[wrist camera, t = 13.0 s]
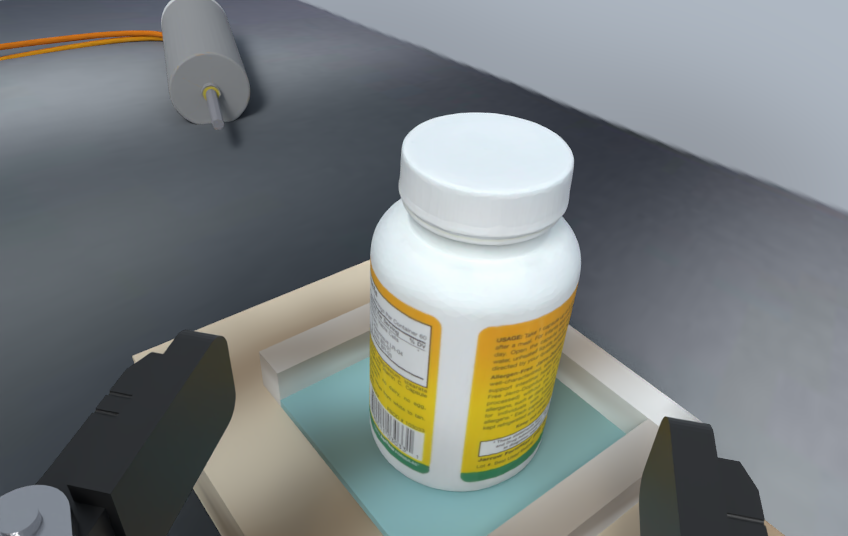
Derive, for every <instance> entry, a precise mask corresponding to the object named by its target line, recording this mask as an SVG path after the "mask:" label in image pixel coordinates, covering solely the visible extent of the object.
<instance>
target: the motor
mask: <svg viewBox="0 0 848 536" xmlns="http://www.w3.org/2000/svg"><path fill="white" fill-rule="evenodd" d="M161 26H162V32H158V31H111V32H98V33H87V34H78V35H68V36H59V37H50V38H42V39H34V40H27V41H19V42H11V43H4V44H0V50H5V49H12V48H19V47H27V46H35V45H43V44H52V43H60V42H69V41H77V40H85V39H94V38H105V37H119V38H111V39H103V40H96V41H89V42H83V43H76V44H70V45H64V46H58V47H52V48H46V49H41V50H35V51H30V52H24V53H19V54H14V55H8V56H3V57H0V60H6V59H12V58H18V57H24V56H30V55H36V54H42V53H49V52H55V51H61V50H68V49H75V48H82V47H89V46H96V45H105V44H113V43H123V42H135V41H163V44H164V53H165V61H166V70H167V79H168V87H169V95H170V98H171V102H172V103H173V105H174V107H175V109H176V110H177V111H178V112H179V114H180V115H181V116H183V117H184V118H185V119H187V120H188V121H190V122H192V123H194V124H208V123H212V126H213V127H214V129H217V130H220V129H222V128H223V126H224V122H228V121H234V120H236V119H237V118H238V117H239V116H240V115H241V114H242V113H243V112H244V110H245V109H246V107H247V105H248V103H249V99H250V83H249V80H248V77H247V74H246V71H245V68H244V65H243V62H242V59H241V57H240V54H239V51H238V48H237V45H236V42H235V39H234V36H233V34H232V31H231V28H230V25H229V22H228V19H227V16H226V14H225V12H224V10H223V9H222V7H221V6H220V5H219V4H218V3H217V2H216V1H214V0H171V1H170V2H169V3H168V4H167V6H166V7H165V9H164V11H163V14H162V19H161ZM122 36H130V37H122Z"/></svg>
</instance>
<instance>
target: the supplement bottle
mask: <svg viewBox="0 0 848 536" xmlns="http://www.w3.org/2000/svg"><path fill="white" fill-rule="evenodd" d="M573 168H574V157H573V154H572V151H571V149H570V148H569V146H568V145H567V144H566V142H565V141H564V140H563V139H562V138H560V137H559V136H558V135H557V134H556V133H554V132H552V131H551V130H549V129H547V128H545V127H543V126H541V125H539V124H537V123H534V122H531V121H527V120H524V119H520V118H517V117H512V116H508V115H502V114H495V113H459V114H452V115H445V116H442V117H437V118H433V119H431V120H428V121H426V122H424V123H421V124H420V125H418V126H417V127H415V128H414V129H413V130H412V131H410V132H409V133H408V135H407V136H406V137H405V139H404V141H403V145H402V151H401V170H400V179H399V192H400V196H401V199H400V200H399V201H397V202H396V203H395V204H393V205H392V206H391V207H390V208H389V209H388V210H387V211H386V213H385V214H384V215H383V216H382V218H381V220H380V221H379V223H378V225H377V227H376V229H375V232H374V235H373V238H372V243H371V253H370V385H369V414H370V425H371V430H372V434H373V437H374V439H375V442H376V444H377V446H378V448H379V450H380V451H381V453H382V454H383V455H384V457H385V458H386V459H387V461H388V462H389V463H390V464H391V465H392V466H393V467H394V468H396V469H397V470H398V471H400V472H401V473H402V474H404V475H405V476H406V477H408V478H410V479H412V480H413V481H416V482H418V483H420V484H423V485H425V486H428V487H431V488H435V489H440V490H445V491H456V492H467V491H476V490H480V489H484V488H488V487H491V486H493V485H496V484H499V483H501V482H503V481H505V480H507V479H509V478H511V477H513V476H514V475H516V474H517V473H518V472H520V471H521V470H522V469H523V468H524V467H525V466H526V465H527V464H528V463H529V462H530V461H531V459H532V458H533V457H534V455H535V453H536V451H537V450H538V447H539V445H540V442H541V439H542V436H543V431H544V428H545V424H546V419H547V414H548V410H549V406H550V401H551V397H552V392H553V388H554V384H555V379H556V374H557V370H558V366H559V362H560V358H561V354H562V349H563V345H564V341H565V336H566V332H567V328H568V324H569V320H570V316H571V312H572V307H573V303H574V299H575V294H576V290H577V286H578V282H579V276H580V270H581V255H580V249H579V245H578V242H577V239H576V237H575V234H574V233H573V231H572V229H571V227H570V226H569V224H568V223H567V222H566V221H565V219H564V218H563V217H562V215H563V214H564V213H565V211H566V208H567V206H568V202H569V192H570V186H571V180H572V174H573Z"/></svg>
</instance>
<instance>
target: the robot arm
mask: <svg viewBox="0 0 848 536" xmlns="http://www.w3.org/2000/svg"><path fill="white" fill-rule="evenodd" d="M235 401H236V391H235V385H234V379H233V373H232V367H231V361H230V356H229V350H228V344H227V341H226V339H225V337H223V336H219V335H214V334H208V333H202V332H197V331H191V330H183V331H181V332H180V333H179V334H178V335H177V336H176V337H175V339H174V340H173V341H172V343H171V344H170V345H169V347H168V348H167V349H166V351H165V352H164V353H163V354H161V353H155V352H151V353H149V354H148V355H146V356H145V357H143V358H142V359H140V360H139V361H137V362H136V363H135V364H133V365H132V366H130V367H129V368H127V369H126V370H125V372H124V373H123V374H122V375H121V377H120V378H119V379H118V380H117V382H116V383H115V384H114V386H113V387H112V388H111V389H110V393H109V395H106V396H105V397H104V398H103V400H102V401H101V402H100V403H99V405H98V406H97V407H96V411H95V413H92V414H91V415H90V416H89V418H88V419H87V420H86V421H85V423H84V424H83V425H82V426H81V428H80V429H79V430H78V432H77V433H76V434H75V435H74V437H73V438H72V439H71V441H70V442H69V443H68V444H67V446H66V447H65V448H64V449H63V451H62V452H61V453H60V455H59V456H58V457H57V458H56V460H55V461H54V462H53V464H52V465H51V466H50V467H49V469H48V470H47V471H46V472H45V474H44V475H43V476H42V477H41V479H40V480H39V481H38V482H37V483H36V484H35V485H32V486H26V487H22V488H18V489H16V490H13V491H11V492H9V493H7V494H4V495H3V496H1V497H0V536H166V535H167V533H168V531H169V530H170V528H171V526H172V524H173V523H174V521H175V519H176V517H177V515H178V514H179V512H180V510H181V508H182V507H183V505H184V503H185V501H186V499H187V498H188V496H189V494H190V492H191V491H192V489H193V487H194V485H195V483H196V482H197V480H198V478H199V476H200V475H201V473H202V471H203V469H204V468H205V466H206V464H207V462H208V460H209V459H210V457H211V455H212V453H213V452H214V450H215V448H216V446H217V444H218V443H219V441H220V439H221V437H222V436H223V434H224V432H225V430H226V428H227V427H228V425H229V423H230V420H231V418H232V415H233V412H234V407H235ZM639 519H640V536H768V533H767V528H766V526H765V525H764V520H765V519H764V514H763V510H762V505H761V500H760V496H759V491H758V489H757V487H756V486H755V484H754V483H753V481H752V480H751V478H750V477H749V475H748V473H747V472H746V470H745V469H744V467H743V466H742V464H741V463H740V462H739V461H733V460H728V459H723V458H718V457H717V451H716V445H715V439H714V433H713V429H712V427H711V425H710V424H705V423H700V422H694V421H689V420H683V419H677V418H672V417H666V416H665V417H664V418H663V419H662V421H661V423H660V426H659V429H658V432H657V434H656V437H655V440H654V443H653V445H652V448H651V451H650V454H649V457H648V459H647V462H646V465H645V468H644V471H643V474H642V479H641V484H640V493H639Z"/></svg>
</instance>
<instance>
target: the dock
mask: <svg viewBox="0 0 848 536" xmlns="http://www.w3.org/2000/svg"><path fill="white" fill-rule="evenodd" d="M195 331H197V332H202V333H208V334H214V335H219V336H223V337H225V339H226V341H227V344H228V350H229V356H230V361H231V367H232V373H233V379H234V385H235V391H236V401H235V407H234V412H233V415H232V418H231V420H230V423H229V425H228V427H227V428H226V430H225V432H224V434H223V436H222V437H221V439H220V441H219V443H218V444H217V446H216V448H215V450H214V452H213V453H212V455H211V457H210V459H209V460H208V462H207V464H206V466H205V468H204V469H203V471H202V473H201V475H200V476H199V478H198V480H197V482H196V483H195V485H194V487H193V489H194V491H195V493H196V494H197V496H198V498H199V499H200V501H201V503H202V504H203V506H204V508H205V509H206V511H207V513H208V514H209V516H210V518H211V519H212V521H213V523H214V524H215V526H216V528H217V529H218V531H219V533H220V534H221V536H640V519H639V493H640V484H641V479H642V474H643V471H644V468H645V465H646V462H647V459H648V457H649V454H650V451H651V448H652V445H653V443H654V440H655V437H656V434H657V432H658V429H659V426H660V423H661V421H662V419H663V418H664V417H665V416H666V417H672V418H677V419H683V420H689V421H694V422H700V423H703V422H701V421H700V420H699V419H697V418H696V417H695V416H693V415H692V414H690V413H689V412H688V411H686V410H685V409H684V408H682V407H681V406H680V405H678V404H677V403H675V402H674V401H673V400H671V399H670V398H669V397H667V396H666V395H664V394H663V393H662V392H660V391H659V390H658V389H656V388H655V387H653V386H652V385H651V384H649V383H648V382H647V381H645V380H644V379H643V378H641V377H640V376H638V375H637V374H636V373H634V372H633V371H632V370H630V369H629V368H627V367H626V366H625V365H623V364H622V363H621V362H619V361H618V360H617V359H615V358H614V357H612V356H611V355H610V354H608V353H607V352H606V351H604V350H603V349H601V348H600V347H599V346H597V345H596V344H595V343H593V342H592V341H590V340H589V339H588V338H586V337H585V336H584V335H582V334H581V333H580V332H578V331H577V330H575V329H574V328H573V327H571V326H570V325H569V324H568V328H567V332H566V336H565V341H564V345H563V349H562V354H561V358H560V362H559V366H558V370H557V374H556V379H555V384H554V388H553V392H552V397H551V401H550V406H549V410H548V414H547V419H546V424H545V428H544V431H543V436H542V439H541V442H540V445H539V447H538V450H537V451H536V453H535V455H534V457H533V458H532V459H531V461H530V462H529V463H528V464H527V465H526V466H525V467H524V468H523V469H522V470H521V471H520V472H518V473H517V474H516V475H514V476H513V477H511V478H509V479H507V480H505V481H503V482H501V483H499V484H496V485H493V486H491V487H488V488H484V489H480V490H476V491H467V492H456V491H445V490H440V489H435V488H431V487H428V486H425V485H423V484H420V483H418V482H416V481H413V480H412V479H410V478H408V477H406V476H405V475H404V474H402V473H401V472H400V471H398V470H397V469H396V468H394V467H393V466H392V465H391V464H390V463H389V462H388V461H387V459H386V458H385V457H384V455H383V454H382V453H381V451H380V450H379V448H378V446H377V444H376V442H375V439H374V437H373V434H372V430H371V425H370V414H369V385H370V260H368V261H366V262H363V263H361V264H358V265H356V266H353V267H351V268H348V269H346V270H343V271H341V272H339V273H336V274H334V275H331V276H329V277H326V278H324V279H321V280H319V281H316V282H314V283H311V284H309V285H306V286H304V287H301V288H299V289H297V290H294V291H292V292H289V293H287V294H284V295H282V296H279V297H277V298H274V299H272V300H269V301H267V302H264V303H262V304H260V305H257V306H255V307H252V308H250V309H247V310H245V311H242V312H240V313H237V314H235V315H232V316H230V317H227V318H225V319H222V320H220V321H218V322H215V323H213V324H210V325H208V326H205V327H203V328H200V329H198V330H195ZM173 340H174V339H173ZM173 340H171V341H168V342H166V343H163V344H161V345H158V346H156V347H153V348H151V349H148V350H146V351H144V352H141V353H139V354H136V355H134V356H132V357H133V361H134V364H135V363H136V362H137V361H139V360H140V359H142V358H143V357H145V356H146V355H148V354H149V353H151V352H155V353H161V354H163V353H164V352H165V351H166V349H167V348H168V347H169V345H170V344H171V343H172V341H173ZM764 525H765V526H766V528H767V533H768V536H785V535H783V534H782V533H781V532H780V531H778V530H777V529H776V528H774V527H773V526H772V525H771V524H769V523H768V522H767V521H766V520H764Z"/></svg>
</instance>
